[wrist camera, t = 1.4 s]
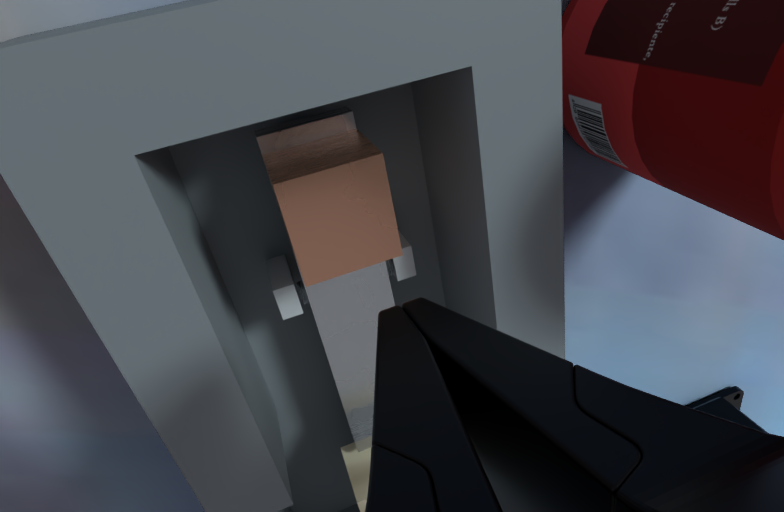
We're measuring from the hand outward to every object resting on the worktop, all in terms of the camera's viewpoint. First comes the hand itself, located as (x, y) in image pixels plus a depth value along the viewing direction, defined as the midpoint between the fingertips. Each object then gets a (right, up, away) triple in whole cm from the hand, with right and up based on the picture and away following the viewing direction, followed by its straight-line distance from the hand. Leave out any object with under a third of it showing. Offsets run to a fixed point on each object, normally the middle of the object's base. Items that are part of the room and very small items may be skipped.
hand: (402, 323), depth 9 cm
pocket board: (-2, -1, +12) cm, 12 cm away
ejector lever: (-1, -2, +10) cm, 11 cm away
